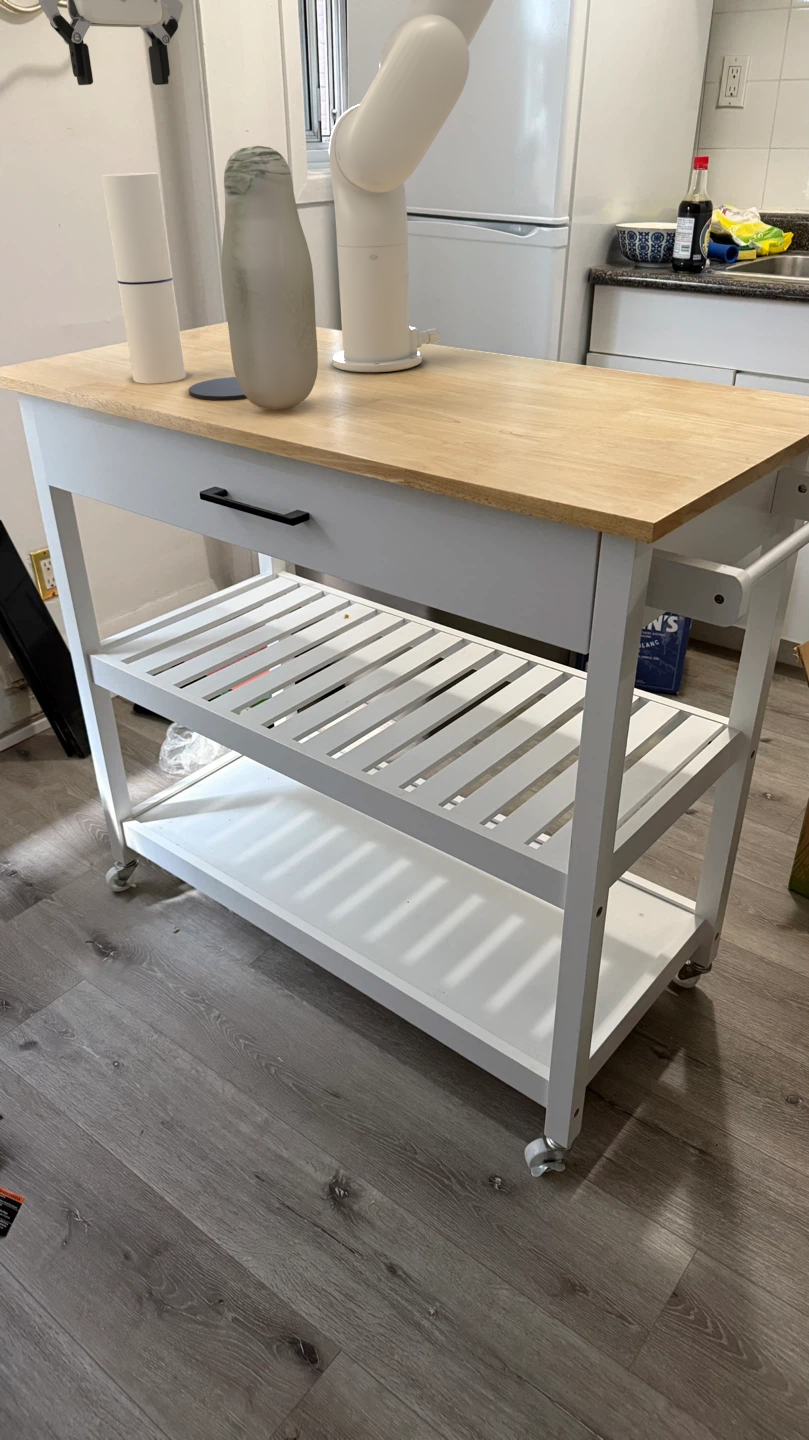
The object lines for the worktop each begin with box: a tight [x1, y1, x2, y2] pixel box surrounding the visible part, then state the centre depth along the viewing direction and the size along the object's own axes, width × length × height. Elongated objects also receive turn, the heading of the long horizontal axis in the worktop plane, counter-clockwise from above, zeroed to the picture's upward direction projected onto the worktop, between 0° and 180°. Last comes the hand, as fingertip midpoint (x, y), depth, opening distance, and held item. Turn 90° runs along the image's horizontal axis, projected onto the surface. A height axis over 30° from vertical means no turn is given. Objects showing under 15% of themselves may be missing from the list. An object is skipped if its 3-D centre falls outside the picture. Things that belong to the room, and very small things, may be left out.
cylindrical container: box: [100, 171, 187, 385], centre depth 136 cm, size 7×7×25 cm
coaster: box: [188, 376, 248, 401], centre depth 134 cm, size 11×11×1 cm
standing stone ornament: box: [220, 145, 319, 411], centre depth 119 cm, size 10×10×28 cm
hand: (124, 84), depth 124 cm, fingers open, 9 cm apart
